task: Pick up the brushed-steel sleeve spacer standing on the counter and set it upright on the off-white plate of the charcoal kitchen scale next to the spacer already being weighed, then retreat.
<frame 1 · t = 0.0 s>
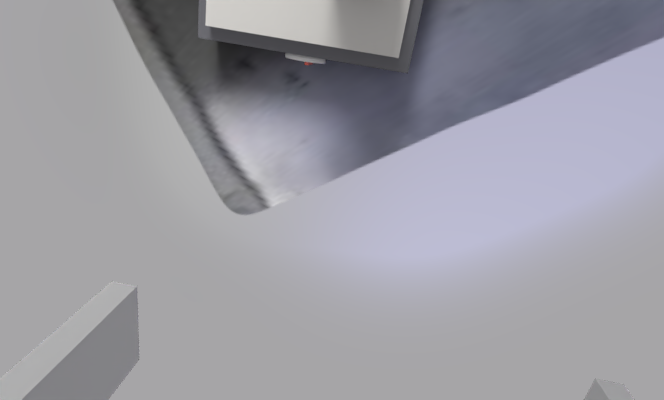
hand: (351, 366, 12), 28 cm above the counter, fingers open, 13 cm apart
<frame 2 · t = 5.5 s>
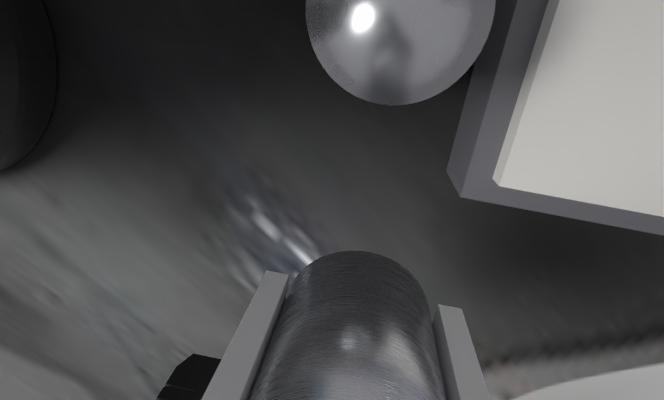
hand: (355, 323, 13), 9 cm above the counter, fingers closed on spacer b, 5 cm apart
spacer c: (391, 29, 18), on the counter
spacer b: (356, 314, 14), point 8 cm above the counter, touching gripper
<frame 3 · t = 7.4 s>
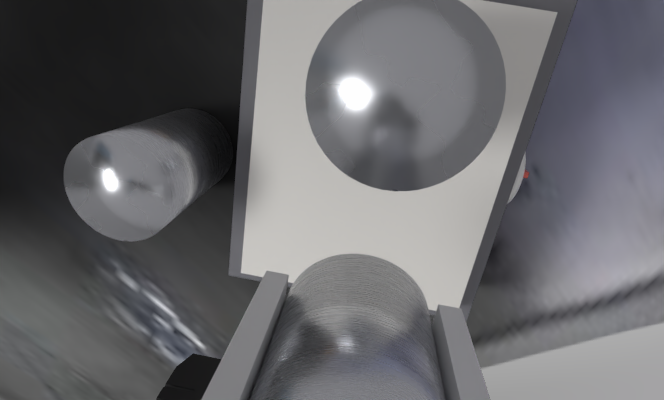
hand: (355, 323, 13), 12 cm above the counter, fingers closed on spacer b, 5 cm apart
spacer a: (391, 76, 18), point 5 cm above the counter, touching scale
scale: (374, 140, 24), on the counter
spacer c: (194, 148, 25), on the counter
spacer b: (355, 317, 14), point 12 cm above the counter, touching gripper
when the fingers open (5 cm above the counter, at t = 9.2 s): spacer b stays where it is, resting on scale.
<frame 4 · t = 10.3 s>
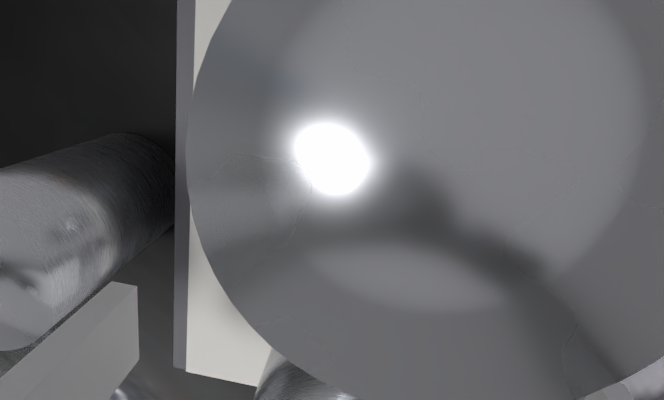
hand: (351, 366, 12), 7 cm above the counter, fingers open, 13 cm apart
spacer a: (405, 97, 11), point 5 cm above the counter, touching scale
scale: (377, 178, 17), on the counter
spacer c: (133, 186, 18), on the counter
spacer b: (357, 322, 14), point 5 cm above the counter, touching scale
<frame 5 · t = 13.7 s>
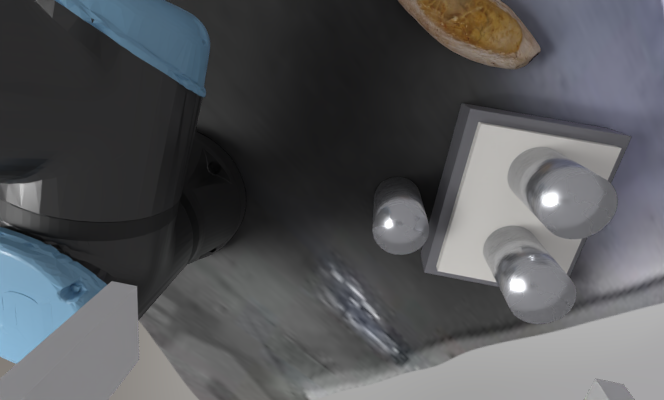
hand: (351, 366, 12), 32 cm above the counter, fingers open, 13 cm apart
spacer a: (536, 174, 35), point 5 cm above the counter, touching scale
filled bread boat: (460, 19, 37), on the counter
scale: (506, 196, 42), on the counter
spacer c: (396, 198, 43), on the counter
spacer b: (510, 249, 38), point 5 cm above the counter, touching scale
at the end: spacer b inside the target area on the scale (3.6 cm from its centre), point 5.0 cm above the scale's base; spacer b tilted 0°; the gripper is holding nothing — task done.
